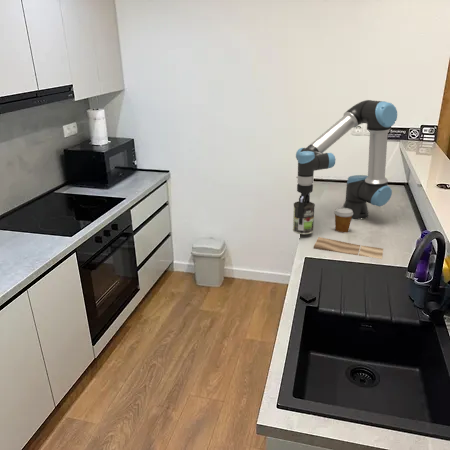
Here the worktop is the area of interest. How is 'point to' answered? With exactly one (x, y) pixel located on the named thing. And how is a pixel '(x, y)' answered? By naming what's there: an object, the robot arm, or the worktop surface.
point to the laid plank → (371, 252)
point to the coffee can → (307, 218)
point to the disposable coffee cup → (342, 219)
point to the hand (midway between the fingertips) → (303, 226)
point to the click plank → (336, 246)
